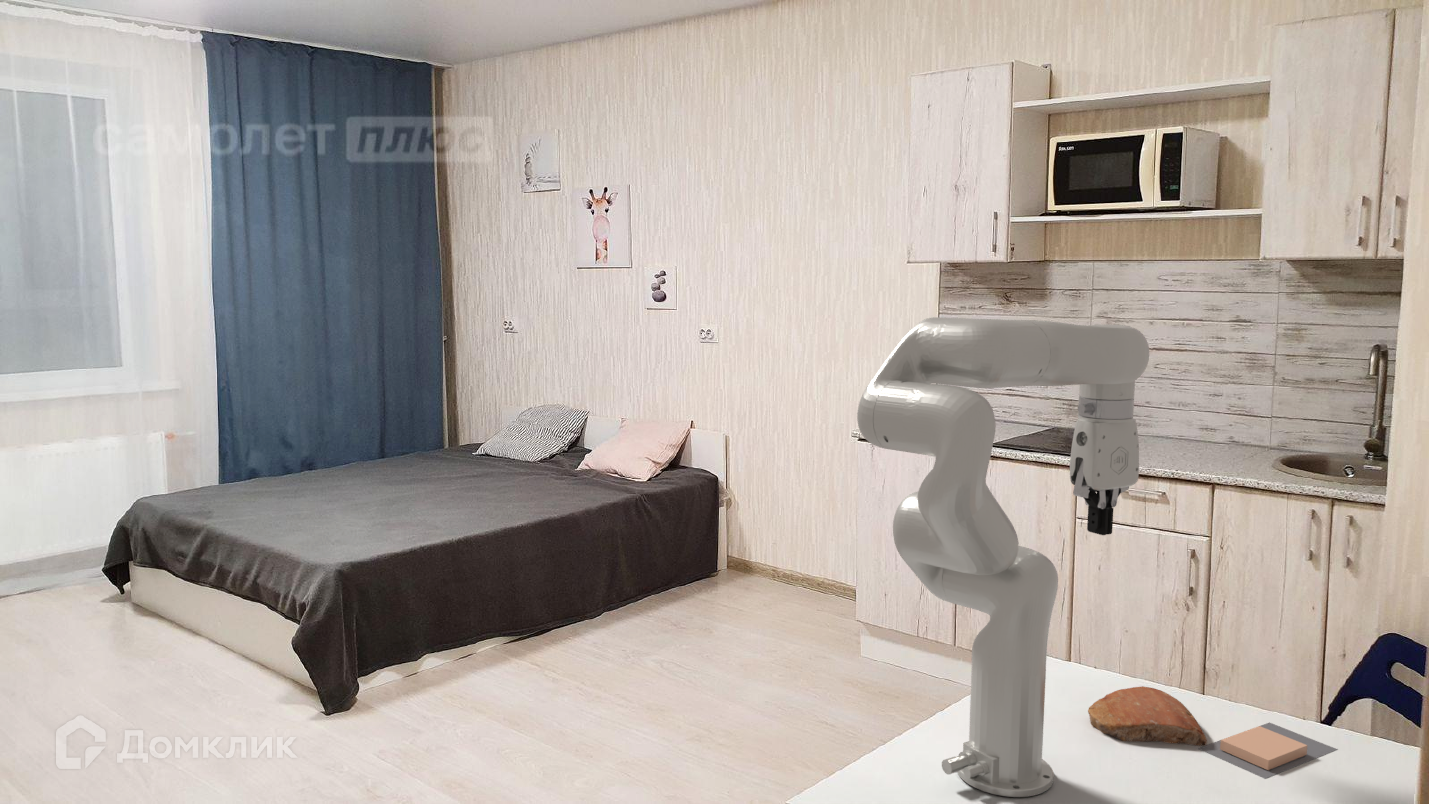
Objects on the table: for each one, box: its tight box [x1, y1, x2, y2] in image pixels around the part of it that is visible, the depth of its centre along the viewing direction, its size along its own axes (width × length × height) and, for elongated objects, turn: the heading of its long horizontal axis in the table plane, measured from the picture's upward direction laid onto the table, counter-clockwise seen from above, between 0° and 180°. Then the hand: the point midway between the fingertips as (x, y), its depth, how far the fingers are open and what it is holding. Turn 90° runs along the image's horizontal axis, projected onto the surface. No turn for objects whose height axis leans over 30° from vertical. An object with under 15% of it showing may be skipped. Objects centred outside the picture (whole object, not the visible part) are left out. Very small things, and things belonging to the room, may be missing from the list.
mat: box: [1197, 722, 1339, 780], centre depth 145 cm, size 17×10×1 cm, turn 120°
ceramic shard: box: [1087, 686, 1208, 747], centre depth 153 cm, size 15×6×15 cm
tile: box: [1220, 725, 1307, 770], centre depth 143 cm, size 2×7×9 cm
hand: (1099, 532), depth 151 cm, fingers closed
